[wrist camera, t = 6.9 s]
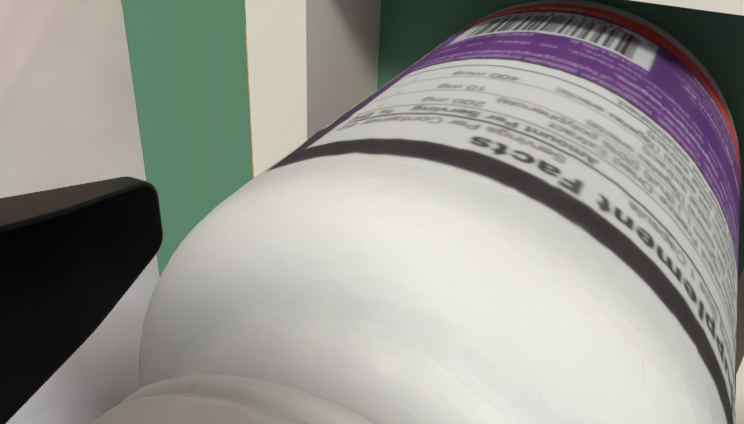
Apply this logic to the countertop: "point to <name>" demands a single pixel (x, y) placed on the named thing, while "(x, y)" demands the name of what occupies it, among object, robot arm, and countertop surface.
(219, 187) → the board
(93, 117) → the countertop surface
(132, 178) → the robot arm
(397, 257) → the pill bottle
